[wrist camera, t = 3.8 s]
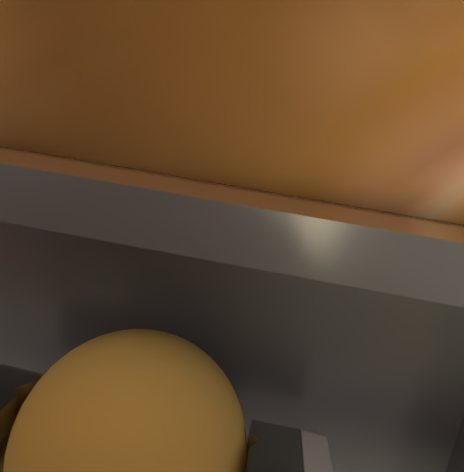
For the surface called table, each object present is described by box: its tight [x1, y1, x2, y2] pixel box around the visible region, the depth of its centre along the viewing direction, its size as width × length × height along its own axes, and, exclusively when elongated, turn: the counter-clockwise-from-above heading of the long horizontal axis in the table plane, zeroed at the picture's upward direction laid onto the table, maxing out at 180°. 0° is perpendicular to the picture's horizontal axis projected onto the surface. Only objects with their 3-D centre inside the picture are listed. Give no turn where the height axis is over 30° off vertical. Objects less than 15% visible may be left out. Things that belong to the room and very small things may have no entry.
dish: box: [0, 146, 464, 472], centre depth 9 cm, size 10×16×3 cm, turn 81°
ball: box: [3, 329, 247, 472], centre depth 8 cm, size 4×4×4 cm
